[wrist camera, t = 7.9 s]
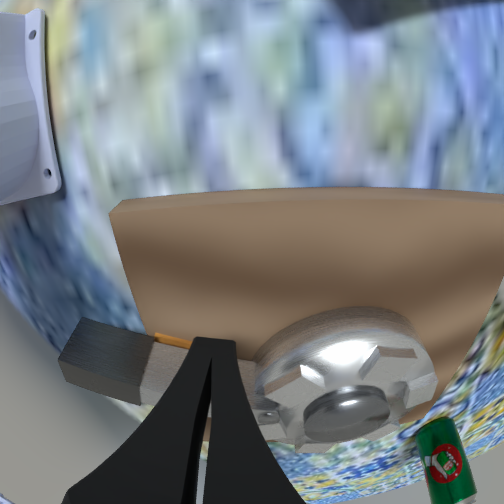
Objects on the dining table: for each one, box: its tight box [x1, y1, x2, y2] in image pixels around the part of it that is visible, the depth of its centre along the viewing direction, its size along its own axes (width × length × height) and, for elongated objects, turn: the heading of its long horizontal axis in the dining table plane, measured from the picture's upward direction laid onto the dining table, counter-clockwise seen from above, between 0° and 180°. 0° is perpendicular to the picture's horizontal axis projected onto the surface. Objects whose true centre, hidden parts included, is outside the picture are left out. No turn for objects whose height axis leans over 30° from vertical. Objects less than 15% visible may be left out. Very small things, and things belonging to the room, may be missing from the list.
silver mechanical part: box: [58, 306, 438, 453], centre depth 13 cm, size 19×10×4 cm, turn 76°
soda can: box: [415, 417, 477, 504], centre depth 20 cm, size 5×5×12 cm
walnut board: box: [109, 187, 504, 442], centre depth 16 cm, size 20×20×2 cm
